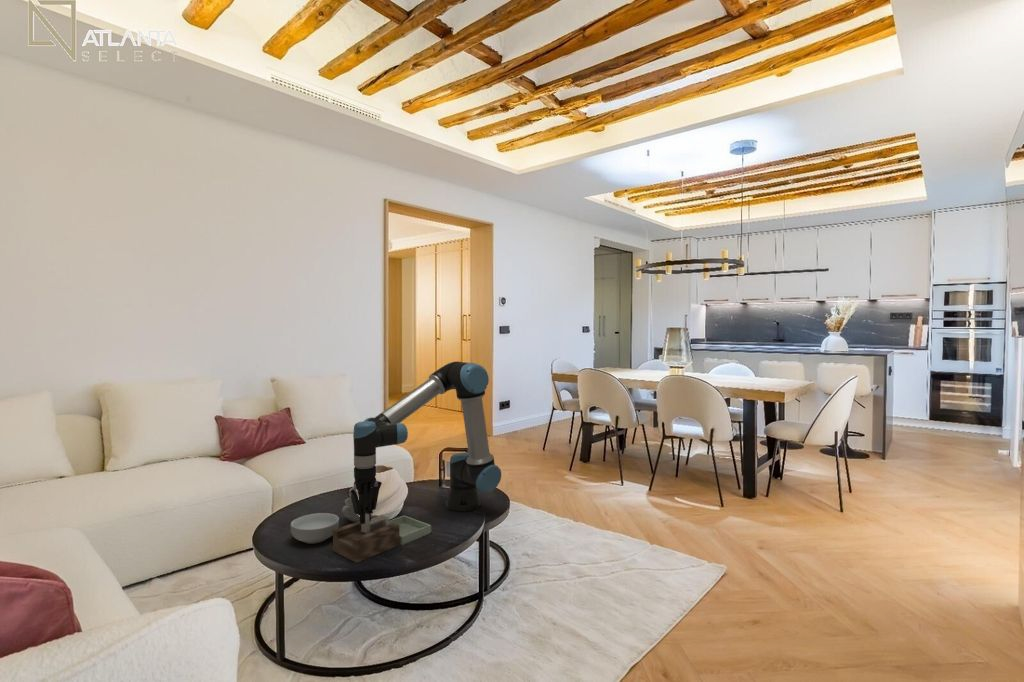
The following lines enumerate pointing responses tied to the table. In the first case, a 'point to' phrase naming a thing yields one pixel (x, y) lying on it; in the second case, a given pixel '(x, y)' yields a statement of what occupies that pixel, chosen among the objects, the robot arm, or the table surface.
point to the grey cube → (382, 521)
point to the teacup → (349, 511)
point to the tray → (410, 529)
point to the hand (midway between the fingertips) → (365, 531)
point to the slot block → (364, 541)
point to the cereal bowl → (314, 527)
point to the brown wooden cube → (374, 525)
